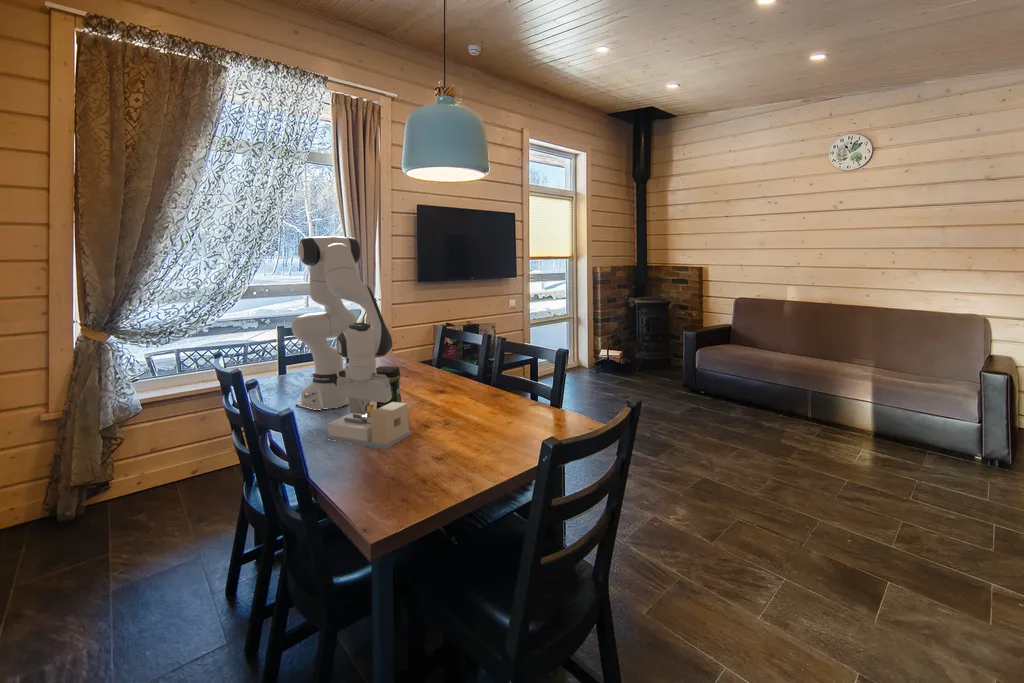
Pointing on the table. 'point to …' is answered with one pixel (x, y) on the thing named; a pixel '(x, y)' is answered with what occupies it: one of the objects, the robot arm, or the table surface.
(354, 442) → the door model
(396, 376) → the coffee jar
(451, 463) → the table surface
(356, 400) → the can
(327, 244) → the robot arm
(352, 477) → the table surface
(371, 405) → the bolt
